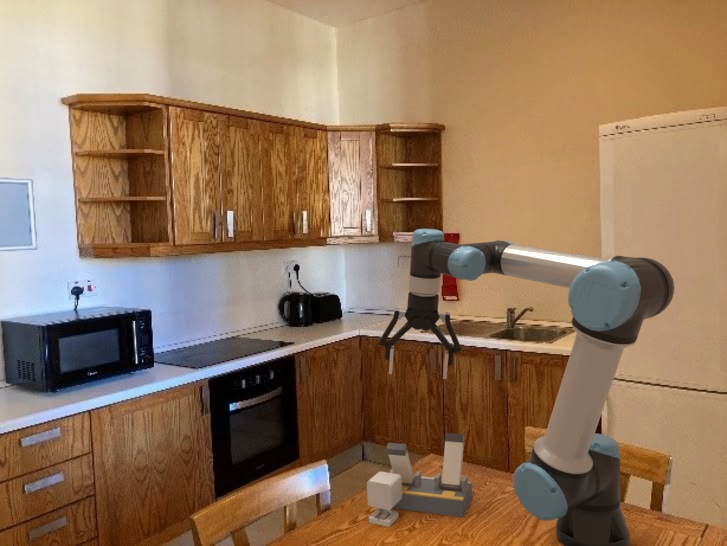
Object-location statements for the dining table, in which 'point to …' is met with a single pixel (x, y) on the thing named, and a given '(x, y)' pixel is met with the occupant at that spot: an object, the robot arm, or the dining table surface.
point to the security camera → (384, 497)
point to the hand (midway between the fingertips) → (417, 374)
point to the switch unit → (435, 496)
